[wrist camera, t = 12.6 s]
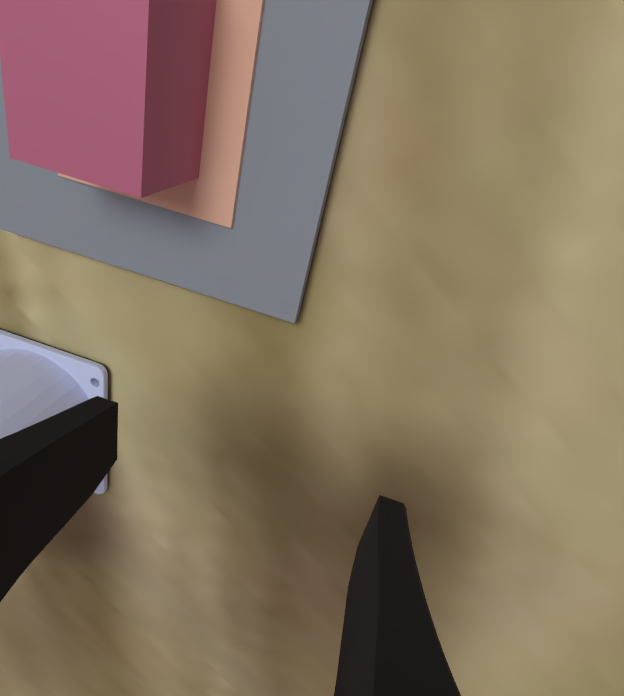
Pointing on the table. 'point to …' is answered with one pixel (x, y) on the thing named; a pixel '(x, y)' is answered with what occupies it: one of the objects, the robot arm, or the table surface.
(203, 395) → the table surface
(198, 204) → the mat
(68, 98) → the pink rectangular block
